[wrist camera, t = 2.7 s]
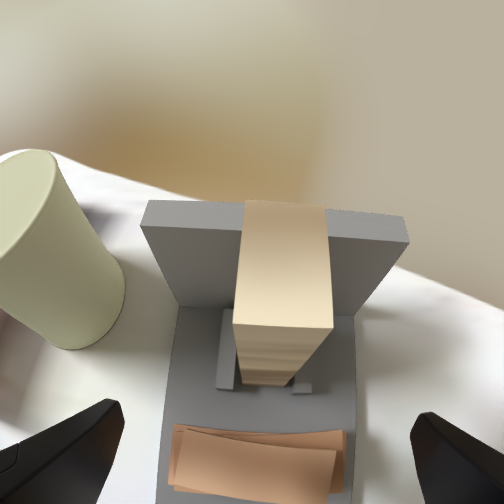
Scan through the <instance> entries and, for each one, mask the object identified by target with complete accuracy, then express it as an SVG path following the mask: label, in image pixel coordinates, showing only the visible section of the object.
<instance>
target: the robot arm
mask: <svg viewBox="0 0 504 504" xmlns="http://www.w3.org/2000/svg"><path fill="white" fill-rule="evenodd" d="M124 424H125V421H124V417H123V413H122V409H121V405H120V403H119V402H118V401H116V400H112V399H104V400H102V401H100V402H98V403H96V404H94V405H93V406H91V407H89V408H87V409H85V410H83V411H81V412H79V413H77V414H76V415H74V416H72V417H70V418H68V419H66V420H64V421H62V422H60V423H58V424H56V425H54V426H52V427H50V428H48V429H46V430H44V431H42V432H40V433H38V434H36V435H34V436H32V437H30V438H28V439H25V440H23V441H21V442H20V443H17V444H15V445H12V446H10V447H8V448H6V449H3V450H1V451H0V504H96V502H97V500H98V498H99V495H100V493H101V491H102V488H103V486H104V484H105V481H106V479H107V477H108V474H109V472H110V470H111V467H112V465H113V462H114V459H115V455H116V452H117V448H118V445H119V442H120V438H121V435H122V432H123V429H124ZM410 440H411V445H412V450H413V455H414V460H415V466H416V471H417V475H418V479H419V483H420V486H421V489H422V493H423V496H424V500H425V504H504V454H502V453H500V452H498V451H497V450H495V449H493V448H491V447H490V446H488V445H486V444H485V443H483V442H481V441H479V440H478V439H476V438H474V437H473V436H471V435H469V434H468V433H466V432H464V431H463V430H461V429H459V428H458V427H456V426H454V425H453V424H451V423H450V422H448V421H446V420H445V419H443V418H441V417H440V416H438V415H437V414H435V413H433V412H425V413H421V414H420V415H419V416H418V417H417V420H416V422H415V424H414V426H413V428H412V430H411V432H410Z"/></svg>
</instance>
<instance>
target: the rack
mask: <svg viewBox="0 0 504 504" xmlns="http://www.w3.org/2000/svg"><path fill="white" fill-rule="evenodd" d="M244 208H245V203H227V202H205V201H172V200H149V201H148V204H147V207H146V210H145V212H144V215H143V218H142V221H141V224H140V227H141V229H142V231H143V233H144V235H145V238H146V240H147V242H148V244H149V246H150V248H151V250H152V252H153V254H154V257H155V259H156V261H157V263H158V265H159V267H160V269H161V271H162V273H163V275H164V277H165V279H166V281H167V283H168V285H169V287H170V289H171V290H172V292H173V294H174V296H175V298H176V300H177V302H178V304H179V311H178V317H177V323H176V329H175V335H174V341H173V348H172V354H171V361H170V368H169V375H168V382H167V389H166V397H165V405H164V413H163V422H162V431H161V441H160V451H159V462H158V474H157V488H156V504H278V503H268V502H259V501H252V500H245V499H238V498H233V497H227V496H222V495H215V494H201V493H191V492H182V491H174V485H169V484H168V477H169V465H170V454H171V443H172V433H173V424H174V423H176V424H184V425H191V426H198V427H205V428H213V429H223V430H233V431H246V432H262V433H306V432H318V431H328V430H342V432H347V433H346V455H345V471H344V484H343V493H335V494H328V498H327V503H326V504H351V497H352V487H353V474H354V459H355V437H356V359H355V336H354V319H353V316H354V314H355V313H356V312H357V311H358V310H359V309H360V307H361V306H362V305H363V304H364V302H365V301H366V300H367V299H368V298H369V296H370V295H371V294H372V293H373V291H374V290H375V289H376V287H377V286H378V285H379V284H380V282H381V281H382V280H383V278H384V277H385V276H386V275H387V273H388V272H389V271H390V269H391V268H392V267H393V265H394V264H395V263H396V261H397V260H398V258H399V257H400V255H401V254H402V253H403V252H404V250H405V249H406V247H407V245H409V243H410V242H409V238H408V234H407V230H406V226H405V222H404V219H403V217H401V216H392V215H384V214H374V213H365V212H364V213H363V212H355V211H344V210H333V209H325V213H326V223H327V233H328V244H329V257H330V270H331V286H332V304H333V329H332V331H331V332H330V333H329V334H328V336H327V337H326V338H325V339H324V341H323V342H322V343H321V344H320V345H319V347H318V348H317V349H316V350H315V351H314V353H313V354H312V355H311V356H310V357H309V359H308V360H307V361H306V362H305V363H304V364H303V366H302V367H301V368H300V369H299V370H298V371H297V372H296V374H295V375H294V376H293V377H292V378H291V379H290V380H289V381H288V383H287V384H286V385H285V386H284V387H266V386H249V385H243V384H242V378H241V372H240V366H239V360H238V354H237V348H236V342H235V336H234V330H233V324H232V323H233V312H234V303H235V293H236V283H237V273H238V264H239V254H240V245H241V236H242V226H243V217H244Z"/></svg>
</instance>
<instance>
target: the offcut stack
mask: <svg viewBox="0 0 504 504" xmlns="http://www.w3.org/2000/svg"><path fill="white" fill-rule="evenodd" d="M346 433H347V432H342V430H328V431H318V432H306V433H262V432H246V431H233V430H223V429H213V428H205V427H198V426H191V425H184V424H176V423H174V424H173V433H172V443H171V454H170V465H169V477H168V484H169V485H174V491H182V492H191V493H201V494H215V495H222V496H227V497H233V498H238V499H245V500H252V501H259V502H268V503H278V504H326V503H327V498H328V494H335V493H343V484H344V471H345V455H346Z"/></svg>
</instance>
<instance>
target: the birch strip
mask: <svg viewBox="0 0 504 504" xmlns="http://www.w3.org/2000/svg"><path fill="white" fill-rule="evenodd" d="M232 324H233V330H234V336H235V342H236V348H237V354H238V360H239V366H240V372H241V378H242V384H243V385H249V386H266V387H284V386H285V385H286V384H287V383H288V381H289V380H290V379H291V378H292V377H293V376H294V375H295V374H296V372H297V371H298V370H299V369H300V368H301V367H302V366H303V364H304V363H305V362H306V361H307V360H308V359H309V357H310V356H311V355H312V354H313V353H314V351H315V350H316V349H317V348H318V347H319V345H320V344H321V343H322V342H323V341H324V339H325V338H326V337H327V336H328V334H329V333H330V332H331V331H332V329H333V304H332V286H331V270H330V257H329V244H328V233H327V223H326V213H325V205H316V204H304V203H291V202H277V201H261V200H245V208H244V217H243V226H242V236H241V245H240V254H239V264H238V273H237V283H236V293H235V303H234V312H233V323H232Z"/></svg>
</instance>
